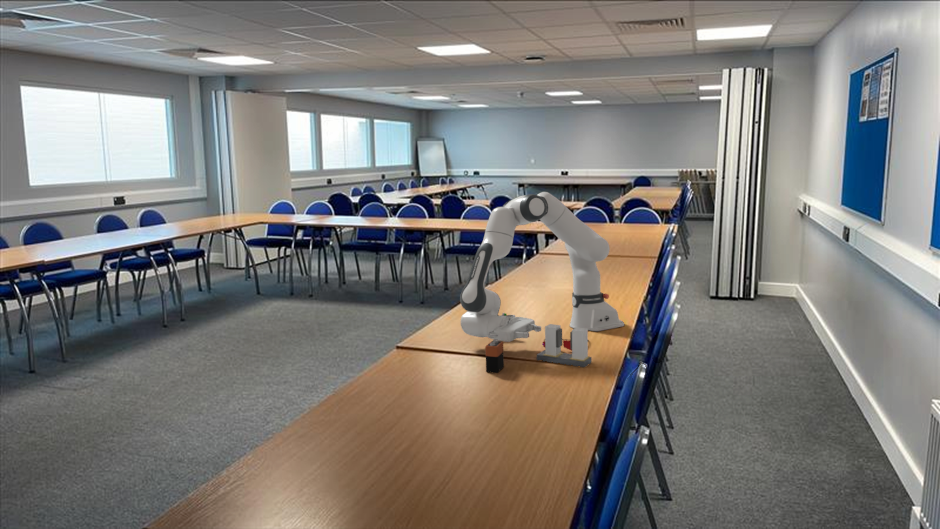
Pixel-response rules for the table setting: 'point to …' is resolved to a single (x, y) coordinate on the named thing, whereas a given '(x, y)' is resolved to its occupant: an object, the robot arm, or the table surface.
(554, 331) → the block
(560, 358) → the rail
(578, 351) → the block
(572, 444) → the table surface
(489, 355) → the battery
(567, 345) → the glasses
